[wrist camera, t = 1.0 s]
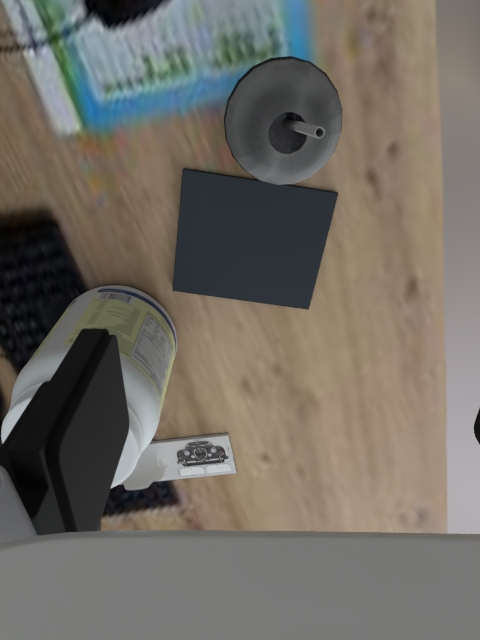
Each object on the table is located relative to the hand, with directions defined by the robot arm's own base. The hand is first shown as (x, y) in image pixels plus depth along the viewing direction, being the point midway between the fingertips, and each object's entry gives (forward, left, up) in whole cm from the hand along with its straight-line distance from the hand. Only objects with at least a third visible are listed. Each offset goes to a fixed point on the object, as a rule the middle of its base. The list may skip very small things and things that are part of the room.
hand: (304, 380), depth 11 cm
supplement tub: (-12, -20, -33) cm, 40 cm away
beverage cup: (0, +4, -33) cm, 33 cm away
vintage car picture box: (-5, -38, -33) cm, 51 cm away
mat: (0, -8, -33) cm, 34 cm away
